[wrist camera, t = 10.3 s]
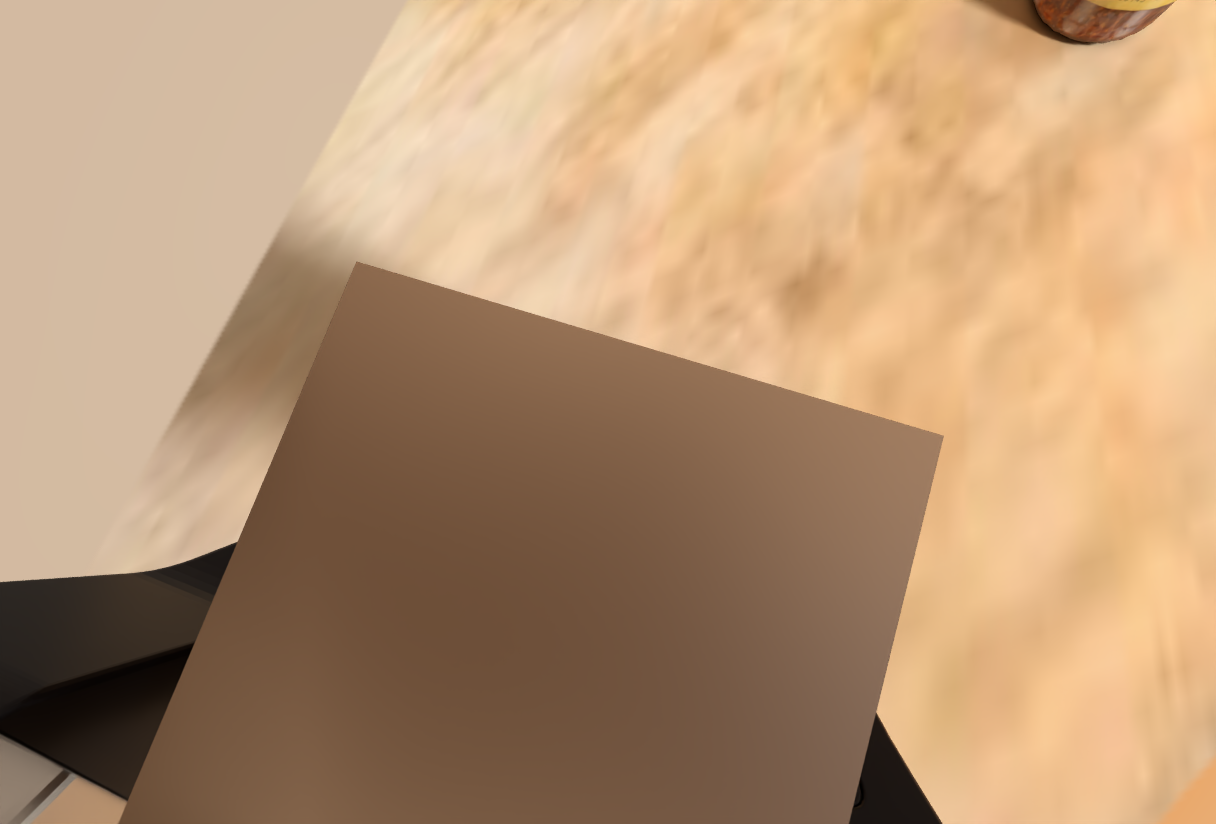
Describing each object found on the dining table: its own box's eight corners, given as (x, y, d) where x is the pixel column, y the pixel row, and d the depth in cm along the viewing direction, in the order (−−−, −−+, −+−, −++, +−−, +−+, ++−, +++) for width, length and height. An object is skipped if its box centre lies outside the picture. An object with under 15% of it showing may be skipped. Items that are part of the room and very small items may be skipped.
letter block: (668, 614, 16) (754, 1208, 3) (533, 563, 16) (104, 855, 3) (712, 469, 16) (949, 417, 3) (580, 426, 17) (362, 246, 4)
